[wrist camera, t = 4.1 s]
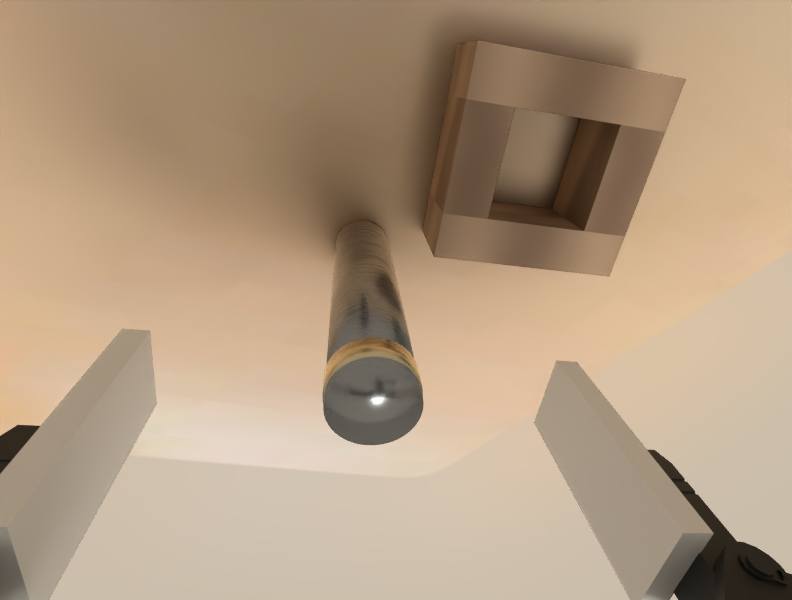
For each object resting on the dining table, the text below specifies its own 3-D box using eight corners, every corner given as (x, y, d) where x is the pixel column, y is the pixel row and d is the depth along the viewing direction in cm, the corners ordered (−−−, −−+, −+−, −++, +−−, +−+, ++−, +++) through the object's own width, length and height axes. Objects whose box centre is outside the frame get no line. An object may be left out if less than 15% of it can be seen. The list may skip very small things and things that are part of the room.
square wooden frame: (634, 77, 24) (685, 79, 20) (575, 249, 28) (609, 276, 24) (457, 44, 22) (477, 40, 19) (422, 230, 26) (434, 256, 23)
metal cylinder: (392, 223, 26) (433, 369, 13) (385, 273, 27) (415, 448, 15) (337, 216, 25) (326, 361, 13) (332, 267, 27) (317, 443, 14)
